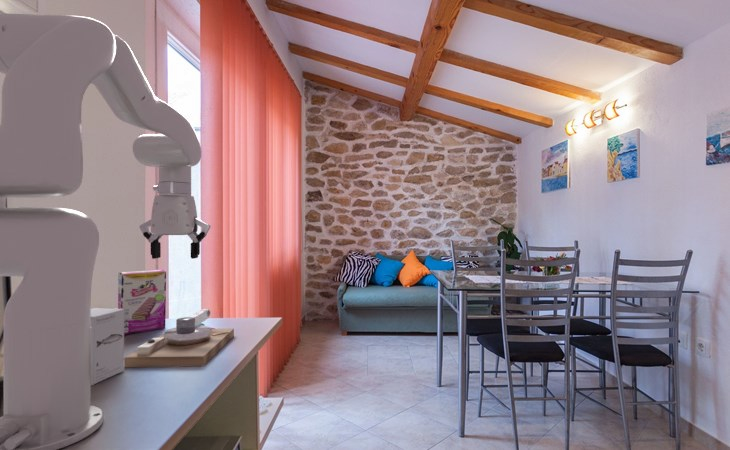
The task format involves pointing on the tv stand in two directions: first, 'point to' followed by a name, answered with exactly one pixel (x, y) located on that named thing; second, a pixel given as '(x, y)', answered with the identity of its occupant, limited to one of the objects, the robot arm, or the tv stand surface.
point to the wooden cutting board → (178, 351)
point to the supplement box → (106, 343)
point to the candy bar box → (142, 300)
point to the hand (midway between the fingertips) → (175, 258)
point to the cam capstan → (189, 330)
